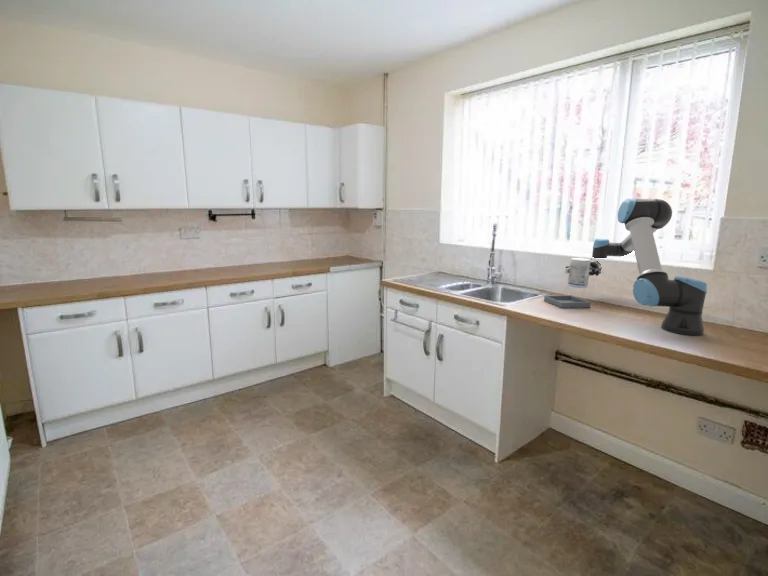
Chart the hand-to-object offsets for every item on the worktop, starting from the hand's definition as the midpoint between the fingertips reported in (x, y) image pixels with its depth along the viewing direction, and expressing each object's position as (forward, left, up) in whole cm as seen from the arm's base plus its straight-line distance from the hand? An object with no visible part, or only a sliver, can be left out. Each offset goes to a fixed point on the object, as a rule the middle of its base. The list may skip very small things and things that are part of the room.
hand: (575, 272), depth 212 cm
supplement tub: (+3, -4, -8) cm, 9 cm away
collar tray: (+7, -2, -19) cm, 20 cm away
